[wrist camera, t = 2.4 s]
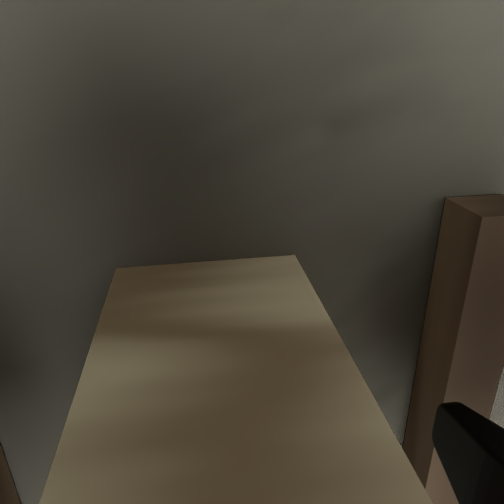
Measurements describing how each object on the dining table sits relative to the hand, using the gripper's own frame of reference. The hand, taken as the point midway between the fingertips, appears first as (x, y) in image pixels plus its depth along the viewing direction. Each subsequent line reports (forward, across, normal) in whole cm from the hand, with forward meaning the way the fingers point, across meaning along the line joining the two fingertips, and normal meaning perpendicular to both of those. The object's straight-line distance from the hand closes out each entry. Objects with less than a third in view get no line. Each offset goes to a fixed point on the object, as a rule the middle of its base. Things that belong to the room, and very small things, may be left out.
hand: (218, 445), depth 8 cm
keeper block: (+4, 0, 0) cm, 4 cm away
